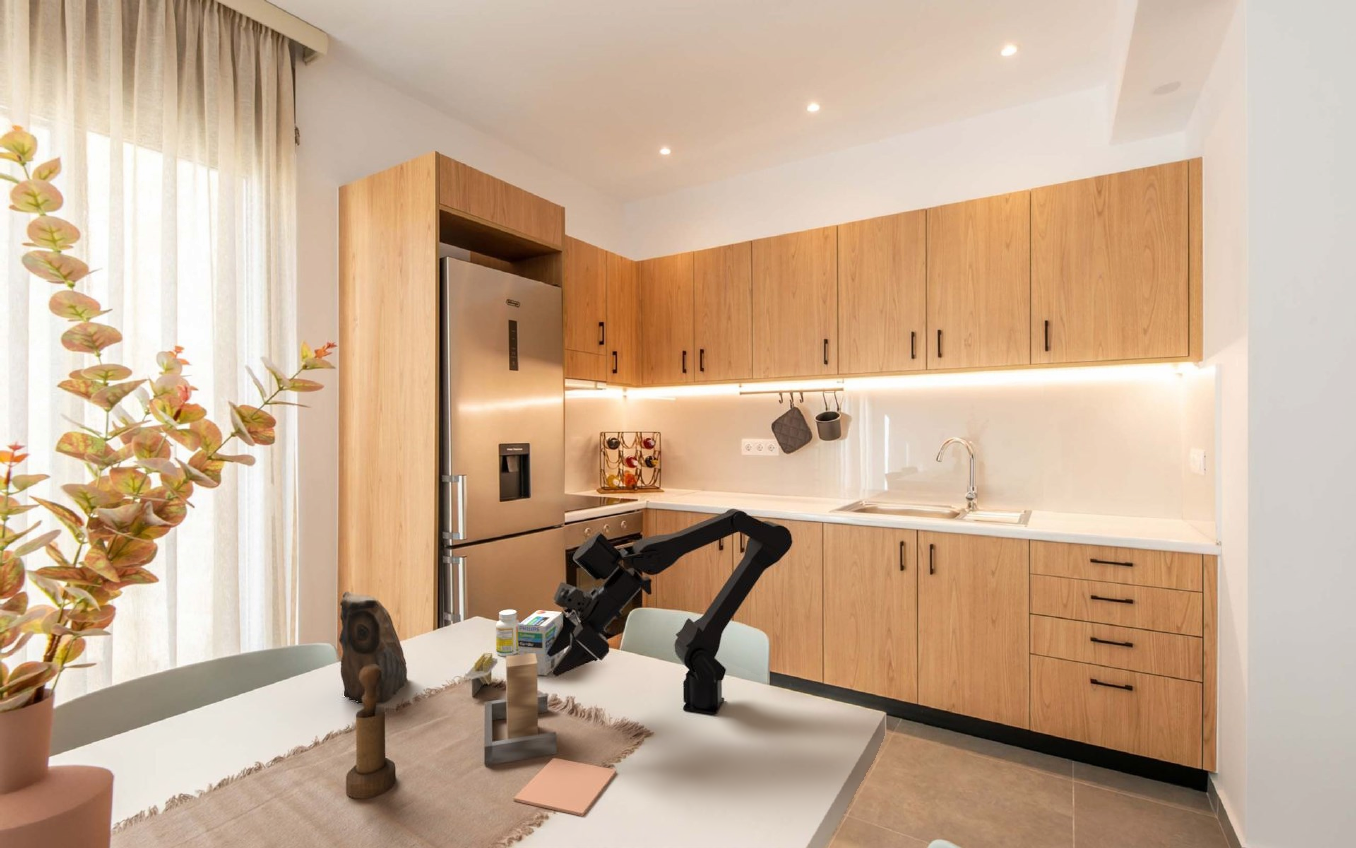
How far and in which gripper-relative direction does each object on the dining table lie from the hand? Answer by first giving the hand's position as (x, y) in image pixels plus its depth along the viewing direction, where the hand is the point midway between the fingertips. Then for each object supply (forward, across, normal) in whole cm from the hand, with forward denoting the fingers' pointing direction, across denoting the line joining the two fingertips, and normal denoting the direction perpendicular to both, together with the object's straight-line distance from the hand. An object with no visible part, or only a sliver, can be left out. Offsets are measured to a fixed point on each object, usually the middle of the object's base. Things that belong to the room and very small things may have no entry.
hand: (551, 664), depth 107 cm
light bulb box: (+8, -30, +9) cm, 32 cm away
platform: (+17, -22, 0) cm, 27 cm away
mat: (+8, +18, +8) cm, 21 cm away
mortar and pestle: (+28, +8, -11) cm, 31 cm away
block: (+12, 0, +5) cm, 13 cm away
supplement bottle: (+13, -41, +4) cm, 43 cm away
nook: (+12, 0, +5) cm, 13 cm away
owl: (+31, -28, -14) cm, 44 cm away
